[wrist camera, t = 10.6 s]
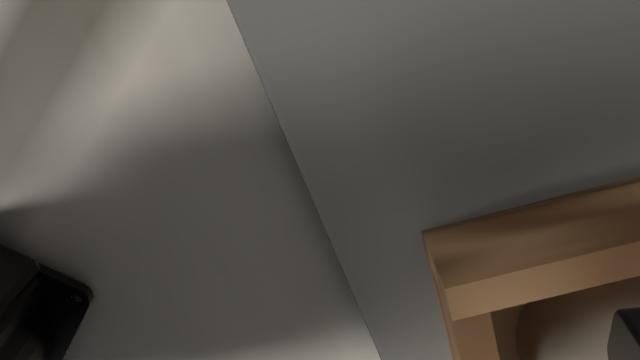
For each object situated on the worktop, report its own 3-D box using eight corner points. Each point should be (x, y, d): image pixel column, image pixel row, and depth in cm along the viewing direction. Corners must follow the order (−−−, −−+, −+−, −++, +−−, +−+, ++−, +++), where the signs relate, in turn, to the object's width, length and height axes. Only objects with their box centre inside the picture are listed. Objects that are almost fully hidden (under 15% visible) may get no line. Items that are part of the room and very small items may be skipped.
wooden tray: (475, 458, 22) (505, 546, 18) (421, 231, 18) (444, 288, 15) (739, 399, 21) (819, 479, 18) (730, 152, 18) (825, 195, 14)
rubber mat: (806, 394, 22) (824, 409, 21) (446, 502, 23) (450, 520, 23) (706, -365, 14) (728, -384, 13) (177, -125, 16) (170, -131, 15)
